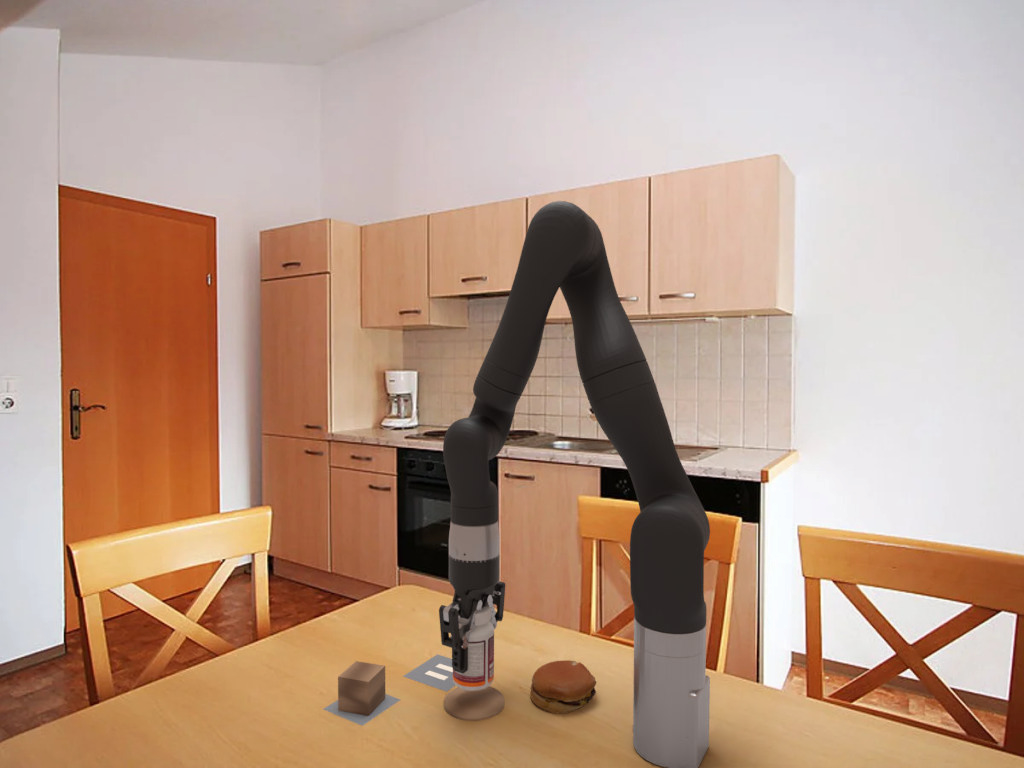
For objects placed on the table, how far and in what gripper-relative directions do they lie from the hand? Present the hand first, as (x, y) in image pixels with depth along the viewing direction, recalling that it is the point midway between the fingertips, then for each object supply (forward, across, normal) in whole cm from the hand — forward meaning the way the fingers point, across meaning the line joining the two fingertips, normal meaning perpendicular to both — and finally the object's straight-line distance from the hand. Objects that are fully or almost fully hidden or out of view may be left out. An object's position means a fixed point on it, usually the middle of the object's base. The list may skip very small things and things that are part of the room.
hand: (473, 661), depth 94 cm
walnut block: (+6, -9, +14) cm, 18 cm away
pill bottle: (+3, 0, 0) cm, 3 cm away
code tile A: (+7, +5, +10) cm, 13 cm away
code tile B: (+7, -9, +14) cm, 18 cm away
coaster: (+6, 0, 0) cm, 6 cm away
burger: (+7, +9, -10) cm, 15 cm away
